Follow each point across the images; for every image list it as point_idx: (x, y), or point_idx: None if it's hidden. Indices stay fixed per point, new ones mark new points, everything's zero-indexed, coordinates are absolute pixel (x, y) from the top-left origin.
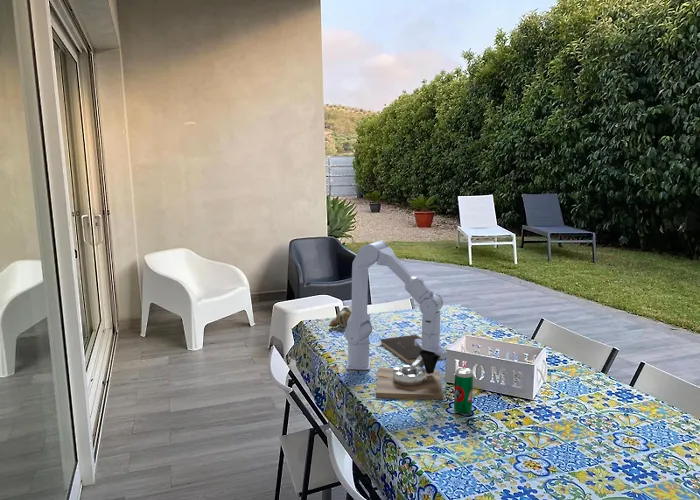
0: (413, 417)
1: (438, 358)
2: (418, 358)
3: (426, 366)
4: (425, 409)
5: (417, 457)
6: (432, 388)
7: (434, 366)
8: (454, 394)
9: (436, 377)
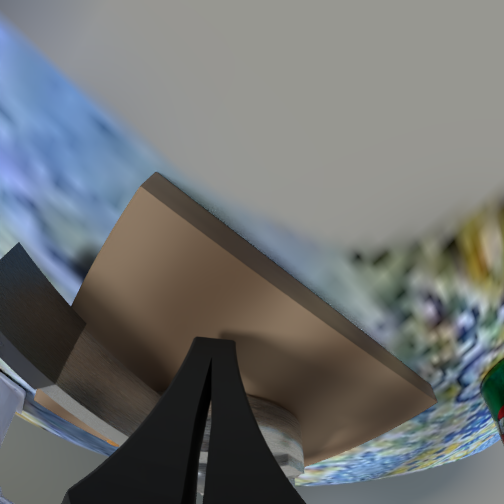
0: (393, 455)
1: (288, 485)
2: (26, 375)
3: (204, 431)
4: (402, 435)
5: (446, 461)
6: (369, 411)
7: (240, 394)
8: (499, 434)
9: (286, 330)
